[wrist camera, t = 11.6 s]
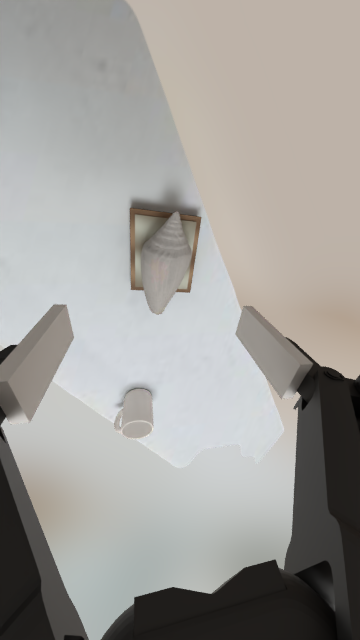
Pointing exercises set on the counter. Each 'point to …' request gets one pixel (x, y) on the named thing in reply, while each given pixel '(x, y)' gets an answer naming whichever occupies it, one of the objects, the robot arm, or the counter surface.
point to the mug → (136, 415)
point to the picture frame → (145, 228)
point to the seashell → (164, 263)
